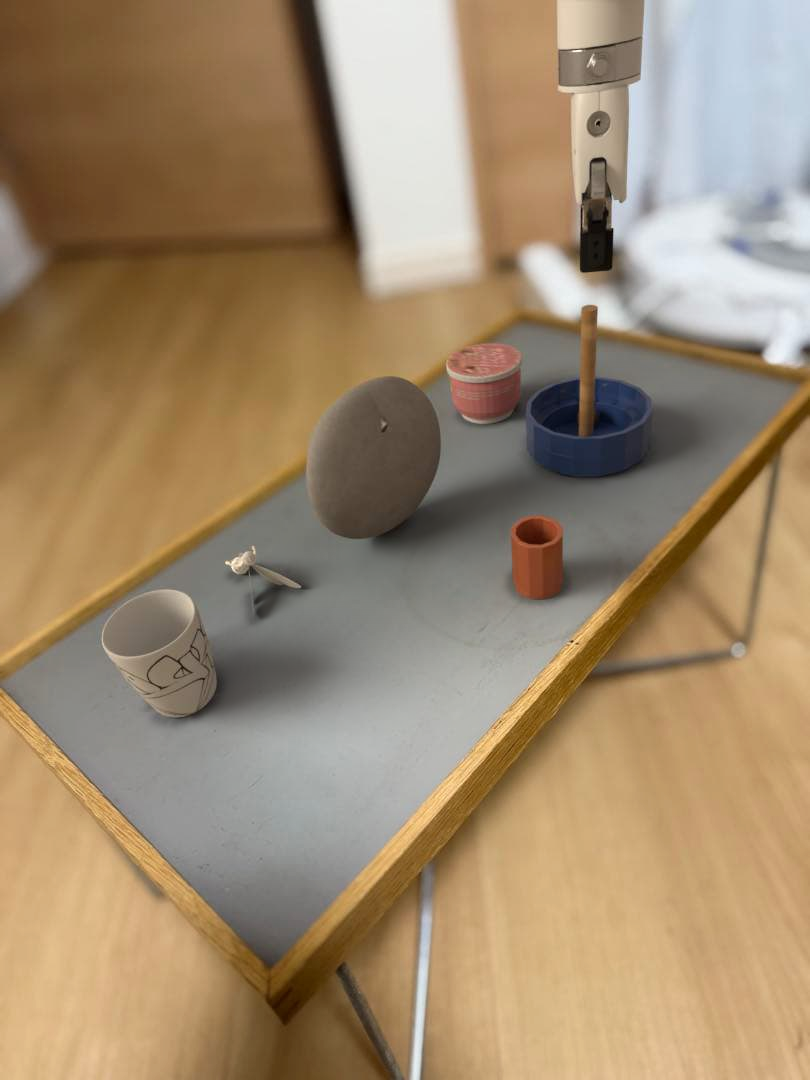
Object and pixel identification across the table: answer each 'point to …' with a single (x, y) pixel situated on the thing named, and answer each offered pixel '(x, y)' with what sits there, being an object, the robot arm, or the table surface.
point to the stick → (587, 369)
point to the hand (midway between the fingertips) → (595, 255)
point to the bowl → (613, 438)
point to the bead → (596, 417)
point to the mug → (163, 651)
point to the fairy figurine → (257, 569)
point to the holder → (537, 556)
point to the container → (485, 381)
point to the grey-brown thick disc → (372, 457)
